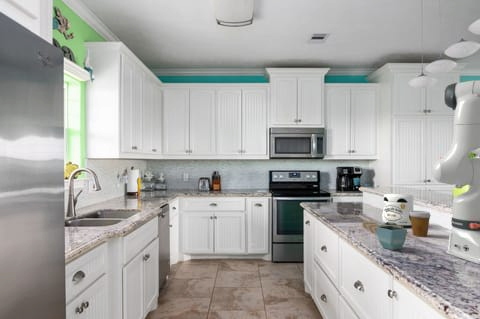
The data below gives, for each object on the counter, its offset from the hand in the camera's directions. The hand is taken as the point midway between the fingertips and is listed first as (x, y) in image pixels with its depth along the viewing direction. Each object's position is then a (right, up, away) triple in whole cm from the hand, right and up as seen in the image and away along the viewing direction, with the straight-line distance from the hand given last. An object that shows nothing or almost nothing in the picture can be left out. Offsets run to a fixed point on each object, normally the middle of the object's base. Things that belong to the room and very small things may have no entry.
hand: (457, 187), depth 157 cm
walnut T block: (-32, -24, +9) cm, 41 cm away
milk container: (-17, -25, +25) cm, 39 cm away
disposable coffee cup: (-19, -25, 0) cm, 31 cm away
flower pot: (-45, -24, -23) cm, 56 cm away
